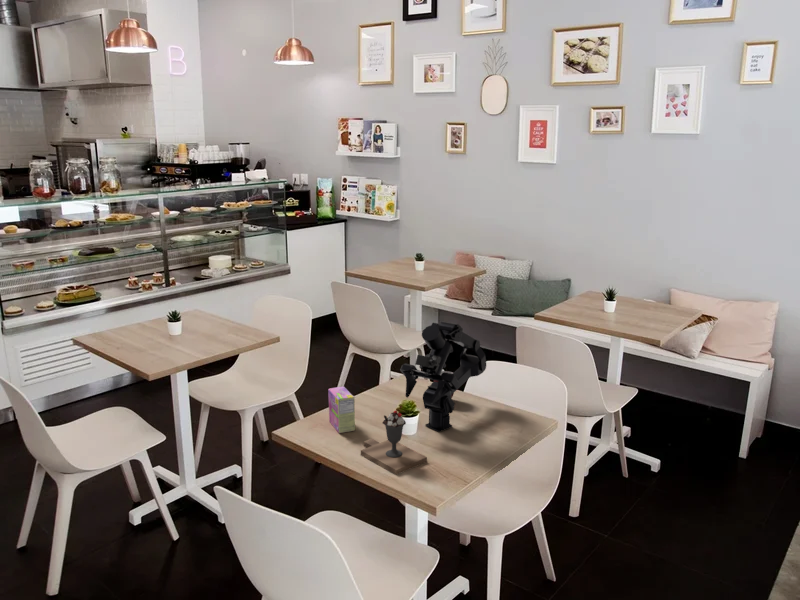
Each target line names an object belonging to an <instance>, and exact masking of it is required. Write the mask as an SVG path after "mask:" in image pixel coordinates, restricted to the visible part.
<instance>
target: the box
mask: <svg viewBox="0 0 800 600" xmlns="http://www.w3.org/2000/svg"><path fill="white" fill-rule="evenodd" d="M327 391H328V415H329V416H328V417H329V419H328V420H329V423H330V424H331V426H333V428H334V429H335V431H336V432H337V433H338V434H342V433H348V432H354V431H356V421H355V419H356V415H355V414H356V410H355V405H356V404H355V400H356V399H355V396H354V395H353V394H352V393H351V392H350V391H349V390H348V389H347V388H346V387H345V386H338V387H331V388H328V390H327Z"/></svg>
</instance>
